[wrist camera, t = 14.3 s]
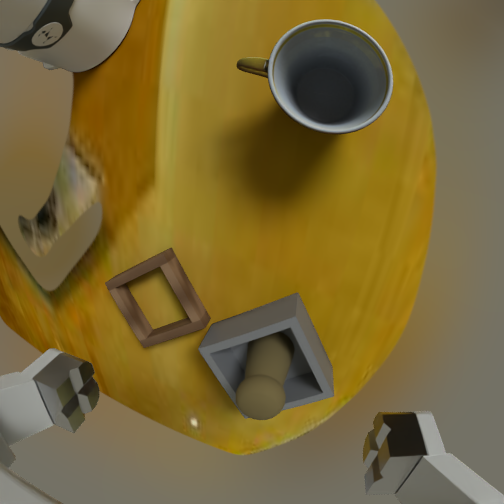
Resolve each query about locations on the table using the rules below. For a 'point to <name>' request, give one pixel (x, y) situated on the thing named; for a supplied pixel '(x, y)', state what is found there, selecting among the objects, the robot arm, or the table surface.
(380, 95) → the ceramic cup
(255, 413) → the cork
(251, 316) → the bin
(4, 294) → the table surface
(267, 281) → the table surface
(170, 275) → the socket collar
